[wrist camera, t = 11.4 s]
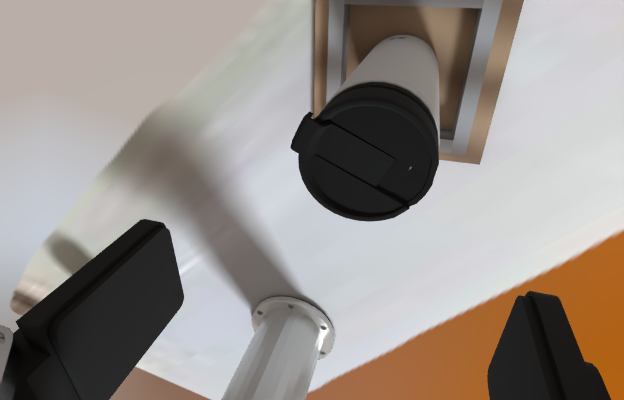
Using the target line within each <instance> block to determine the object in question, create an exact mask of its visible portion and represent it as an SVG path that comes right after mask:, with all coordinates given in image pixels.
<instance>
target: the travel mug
mask: <svg viewBox="0 0 624 400" xmlns="http://www.w3.org/2000/svg"><path fill="white" fill-rule="evenodd" d="M312 114H313V113H311V112H309V113H308V114H306V115H305V116H304V118H303V120H302V121H301V123H300V125H299V127H298V129H297V131H296V133H295V136H294V138H293V140H292V144H291V149H292V150H293V151H295V152H297V153H299V158H298V160H299V170H300V173H301V177H302V180H303V182H304V184H305V186H306V188H307V189H308V191H309V192H310V193H311V195H312V196H313V197H314V198H315V199H316V200H317V201H318V202H319V203H320V204H321V205H322V206H324V207H325V208H327V209H328V210H330V211H332V212H333V213H335V214H338V215H340V216H343V217H345V218H349V219H353V220H358V221H382V220H386V219H390V218H394V217H396V216H398V215H400V214H401V213H403V212H405V211H406V210H408V209H409V206H412V205H414V204H417V203H418V202H419V201H420V200H421V199H422V198H423V197H424V196H425V195H426V193H427V192H428V190H429V189H430V187H431V186H432V184H433V179H434V176H435V173H436V170H437V167H438V165H439V146H440V116H439V66H438V59H437V56H436V54H435V52H434V50H433V48H432V47H431V46H430V45H429V43H428V42H426V41H425V40H424V39H422V38H420V37H418V36H416V35H412V34H405V33H400V34H395V35H392V36H389V37H387V38H385V39H383V40H382V41H380V42H379V43H378V44H377V45H376V46H375V47H374V48H373V49H372V51H371V52H370V53H369V54H368V55H367V56H366V58H365V59H364V60H363V61H362V62H361V63H360V65H359V66H358V67H357V68H356V69H355V70H354V72H353V73H352V74H351V75H350V76H349V77H348V79H347V80H346V81H345V82H344V83H343V84H342V86H341V87H340V88H339V89H338V90H337V91H336V93H335V94H334V95H333V96H332V97H331V99H330V100H329V101H328V102H327V104H326V105H325V106H324V108H323V109H322V111H321V112H320V114H319V115H318V116H317V117H316V118H314V119H311V116H312Z"/></svg>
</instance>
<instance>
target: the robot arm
mask: <svg viewBox="0 0 624 400" xmlns="http://www.w3.org/2000/svg"><path fill="white" fill-rule="evenodd" d="M183 300H184V294H183V289H182V285H181V280H180V276H179V271H178V266H177V262H176V257H175V253H174V248H173V244H172V239H171V235H170V231H169V230H168V229H167V228H166V226H165V225H164V223H162V222H157V221H152V220H147V219H143V220H140V221H139V222H137V223H136V224H135V225H134V226H133V227H131V228H130V229H129V230H128V231H126V232H125V233H124V234H123V235H122V236H120V237H119V238H118V239H117V240H115V241H114V242H113V243H112V244H110V245H109V246H108V247H107V248H106V249H104V250H103V251H102V252H101V253H99V254H98V255H97V256H96V257H95V258H93V259H92V260H91V261H90V262H88V263H87V264H86V265H85V266H83V267H82V268H81V269H80V270H79V271H77V272H76V273H75V274H74V275H72V276H71V277H70V278H69V279H67V280H66V281H65V282H64V283H63V284H61V285H60V286H59V287H58V288H56V289H55V290H54V291H53V292H52V293H50V294H49V295H48V296H47V297H45V298H44V299H43V300H42V301H40V302H39V303H38V304H37V305H36V306H34V307H33V308H32V309H31V310H29V311H28V312H27V313H26V314H24V315H23V316H22V317H21V318H20V319H18V320H17V321H16V323H17V325H18V327H19V329H18V330H17V331H16V332H14V333H12V331H11V330H10V328H8V327H5V326H2V325H0V400H109V399H110V398H111V396H112V395H113V394H114V393H115V391H116V390H117V388H118V387H119V386H120V385H121V384H122V382H123V381H124V380H125V378H126V377H127V376H128V375H129V373H130V372H131V371H132V369H133V368H134V367H135V365H136V364H137V363H138V362H139V360H140V359H141V358H142V356H143V355H144V354H145V353H146V351H147V350H148V349H149V347H150V346H151V345H152V344H153V342H154V341H155V340H156V338H157V337H158V336H159V335H160V333H161V332H162V331H163V329H164V328H165V327H166V326H167V324H168V323H169V322H170V320H171V319H172V318H173V317H174V315H175V314H176V313H177V311H178V310H179V309H180V307H181V306H182V303H183ZM252 326H253V329H254V331H255V334H254V336H253V338H252V340H251V342H250V344H249V346H248V348H247V350H246V352H245V354H244V356H243V358H242V360H241V362H240V364H239V366H238V368H237V370H236V372H235V374H234V376H233V378H232V380H231V382H230V384H229V386H228V388H227V390H226V392H225V394H224V395H223V397H222V399H221V400H305V399H306V395H307V392H308V389H309V386H310V382H311V379H312V376H313V373H314V370H315V366H316V363H317V360H320V359H322V358H324V357H326V356H327V355H328V354H329V353H330V352H331V350H332V348H333V345H334V341H335V333H334V329H333V327H332V325H331V323H330V322H329V320H328V319H327V317H326V316H325V315H324V314H323V313H322V312H321V311H319V310H318V309H317V308H315V307H314V306H312V305H310V304H309V303H307V302H304V301H302V300H299V299H296V298H292V297H284V296H280V297H272V298H268V299H266V300H264V301H262V302H261V303H260V304H259V305H258V306H257V308H256V309H255V311H254V313H253V316H252ZM488 389H489V396H490V400H611V398H610V396H609V394H608V391H607V389H606V387H605V384H604V382H603V379H602V377H601V375H600V373H599V371H598V369H597V368H596V367H595V366H594V365H593V364H592V363H588V362H584V359H583V357H582V354H581V352H580V349H579V347H578V344H577V341H576V339H575V336H574V334H573V331H572V329H571V326H570V324H569V321H568V319H567V316H566V314H565V311H564V309H563V306H562V304H561V301H560V299H559V298H558V297H557V296H554V295H549V294H543V293H537V292H533V291H529V292H527V294H526V295H525V296H518V297H517V298H516V301H515V303H514V306H513V308H512V311H511V313H510V316H509V318H508V321H507V323H506V325H505V328H504V330H503V333H502V336H501V338H500V341H499V343H498V345H497V348H496V350H495V353H494V356H493V358H492V361H491V363H490V365H489V369H488Z"/></svg>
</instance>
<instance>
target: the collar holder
mask: <svg viewBox="0 0 624 400" xmlns="http://www.w3.org/2000/svg"><path fill="white" fill-rule="evenodd" d="M523 2H524V0H316V5H315V83H314V118H316V117H317V116H318V115H319V114H320V112H321V111H322V109H323V108H324V106H325V105H326V104H327V102H328V101H329V100H330V99H331V97H332V96H333V95H334V94H335V93H336V91H337V90H338V89H339V88H340V87H341V86H342V84H343V83H344V82H345V81H346V80H347V79H348V77H349V76H350V75H351V74H352V73H353V72H354V70H355V69H356V68H357V67H358V66H359V65H360V63H361V62H362V61H363V60H364V59H365V58H366V56H367V55H368V54H369V53H370V52H371V51H372V49H373V48H374V47H375V46H376V45H377V44H378V43H379V42H380V41H382V40H383V39H385V38H387V37H389V36H392V35H395V34H400V33H405V34H412V35H416V36H418V37H420V38H422V39H424V40H425V41H426V42H428V43H429V45H430V46H431V47H432V48H433V50H434V52H435V54H436V56H437V59H438V66H439V116H440V146H439V160H447V161H455V162H463V163H472V164H480V161H481V158H482V154H483V150H484V147H485V143H486V139H487V135H488V132H489V128H490V124H491V121H492V117H493V113H494V109H495V106H496V102H497V98H498V95H499V91H500V87H501V83H502V80H503V76H504V72H505V69H506V65H507V61H508V57H509V54H510V50H511V46H512V42H513V39H514V35H515V31H516V28H517V24H518V20H519V16H520V13H521V9H522V5H523Z"/></svg>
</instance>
